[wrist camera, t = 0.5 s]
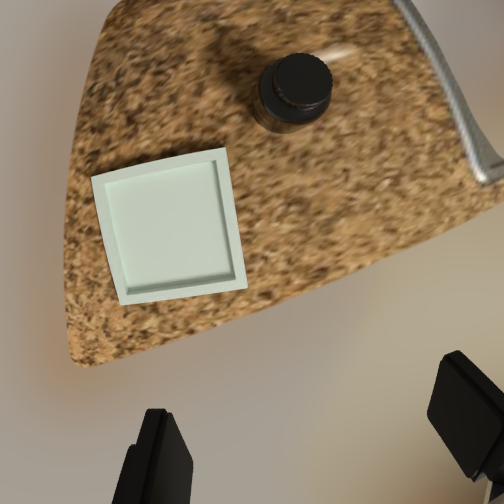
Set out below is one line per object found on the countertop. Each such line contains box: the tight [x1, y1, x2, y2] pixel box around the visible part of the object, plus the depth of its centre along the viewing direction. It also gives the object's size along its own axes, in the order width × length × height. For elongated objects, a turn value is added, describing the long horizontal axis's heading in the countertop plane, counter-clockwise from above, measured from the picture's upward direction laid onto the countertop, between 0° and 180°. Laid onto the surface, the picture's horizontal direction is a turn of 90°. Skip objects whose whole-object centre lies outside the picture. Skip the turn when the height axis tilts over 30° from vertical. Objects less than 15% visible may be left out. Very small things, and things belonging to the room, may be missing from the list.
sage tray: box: [91, 147, 248, 305], centre depth 34 cm, size 16×16×2 cm
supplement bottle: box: [252, 53, 333, 134], centre depth 27 cm, size 7×7×12 cm
